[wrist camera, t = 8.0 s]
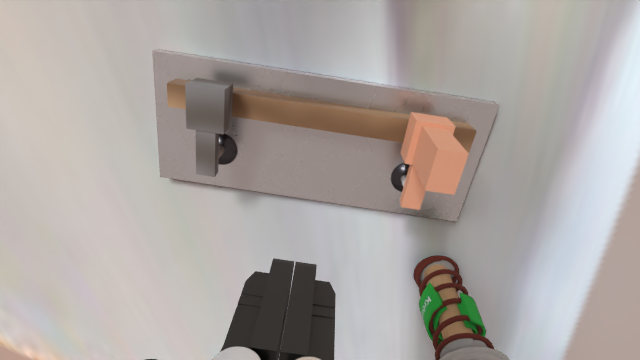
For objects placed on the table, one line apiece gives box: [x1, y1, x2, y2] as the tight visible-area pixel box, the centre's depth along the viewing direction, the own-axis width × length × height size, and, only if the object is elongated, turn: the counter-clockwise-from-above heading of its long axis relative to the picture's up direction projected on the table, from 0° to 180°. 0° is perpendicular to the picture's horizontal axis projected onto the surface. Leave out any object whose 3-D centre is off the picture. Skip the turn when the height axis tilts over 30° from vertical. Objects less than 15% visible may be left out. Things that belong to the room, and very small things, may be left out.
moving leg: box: [400, 112, 469, 210], centre depth 28 cm, size 8×3×9 cm, turn 172°
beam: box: [167, 78, 477, 177], centre depth 31 cm, size 8×26×4 cm, turn 82°
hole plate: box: [152, 49, 499, 222], centre depth 34 cm, size 12×30×1 cm, turn 82°
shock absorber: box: [414, 256, 509, 360], centre depth 34 cm, size 6×6×15 cm
